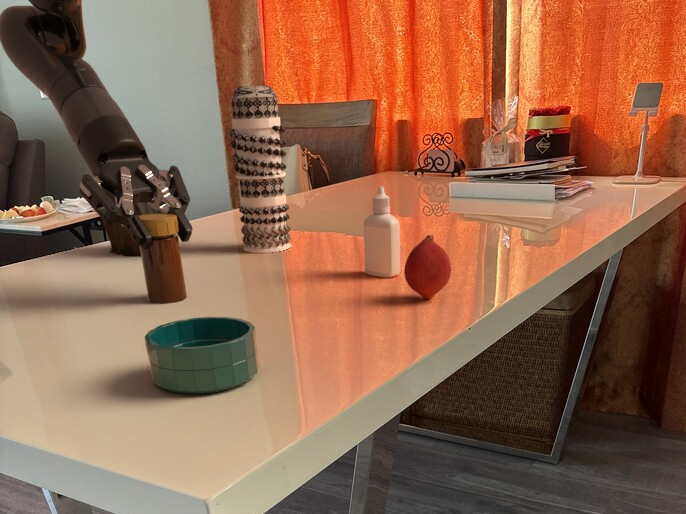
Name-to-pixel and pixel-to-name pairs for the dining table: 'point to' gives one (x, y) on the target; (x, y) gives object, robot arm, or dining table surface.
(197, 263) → the dining table surface
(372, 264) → the eye dropper bottle
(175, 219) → the lid
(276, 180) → the decorative candle
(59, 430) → the dining table surface
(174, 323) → the bowl
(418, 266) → the onion
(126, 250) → the owl
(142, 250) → the jar
